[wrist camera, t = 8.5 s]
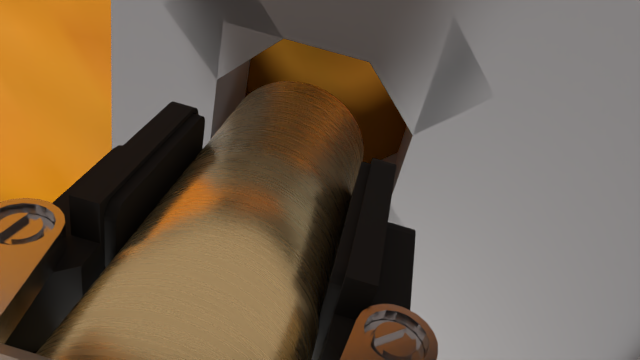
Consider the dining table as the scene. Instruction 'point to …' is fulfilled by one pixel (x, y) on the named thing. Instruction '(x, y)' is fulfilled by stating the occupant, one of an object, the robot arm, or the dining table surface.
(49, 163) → the dining table surface
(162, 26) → the plate
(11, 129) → the dining table surface
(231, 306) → the brass pin
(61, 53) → the dining table surface
